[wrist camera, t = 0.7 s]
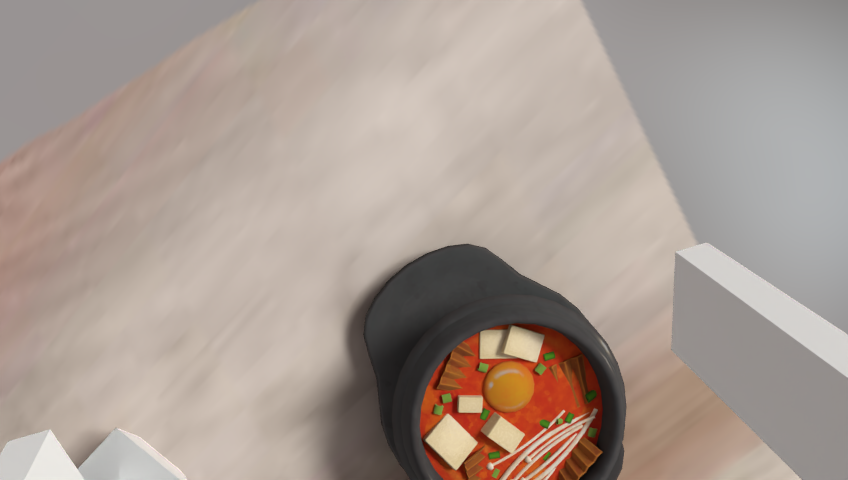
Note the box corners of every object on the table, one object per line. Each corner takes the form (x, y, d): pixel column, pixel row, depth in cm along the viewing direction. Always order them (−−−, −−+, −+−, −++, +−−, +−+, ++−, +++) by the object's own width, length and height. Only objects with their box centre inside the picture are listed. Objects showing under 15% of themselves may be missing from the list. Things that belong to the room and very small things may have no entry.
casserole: (662, 439, 47) (725, 486, 39) (485, 573, 46) (511, 651, 38) (498, 197, 45) (528, 191, 37) (308, 330, 44) (294, 356, 36)
